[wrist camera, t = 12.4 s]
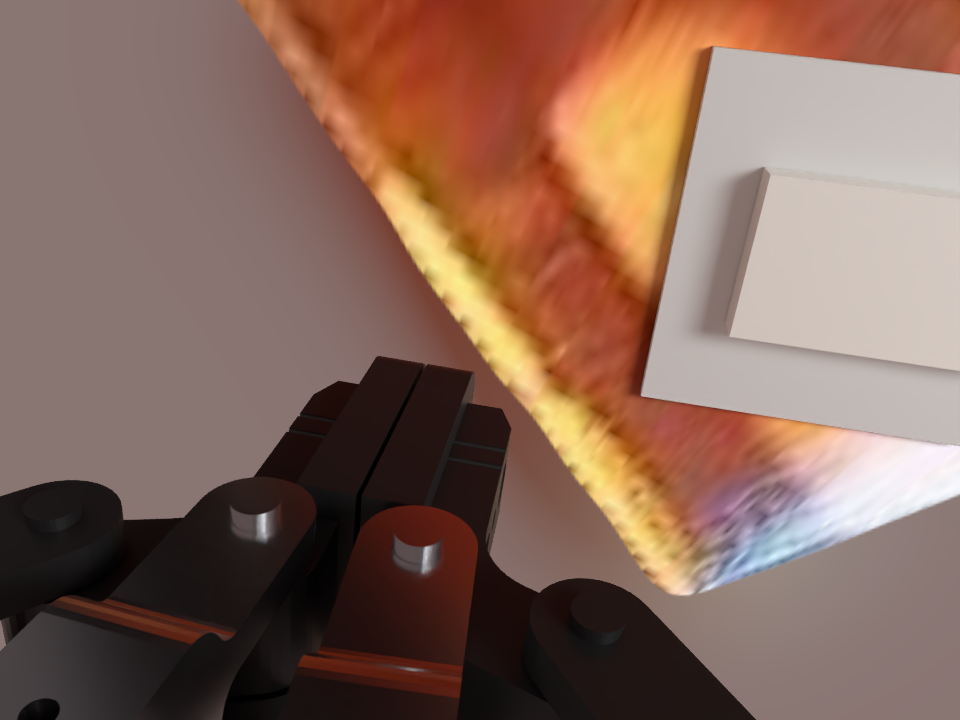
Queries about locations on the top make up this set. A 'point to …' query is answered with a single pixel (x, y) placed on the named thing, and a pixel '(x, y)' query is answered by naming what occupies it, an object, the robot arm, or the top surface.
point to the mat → (726, 218)
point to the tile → (851, 269)
